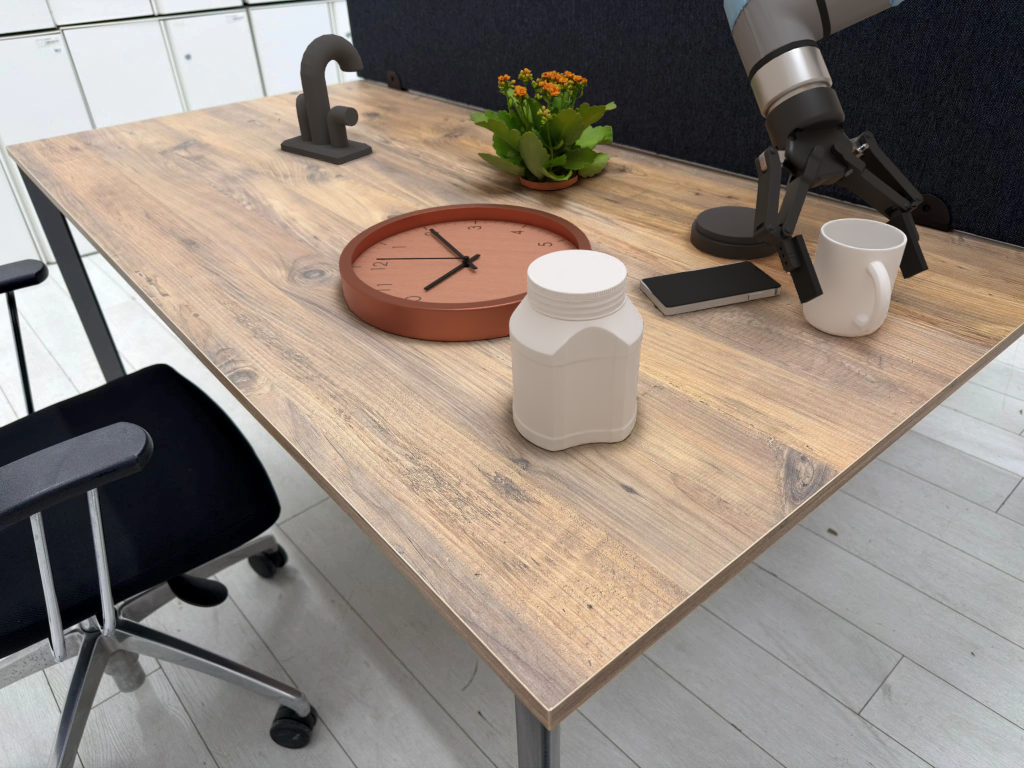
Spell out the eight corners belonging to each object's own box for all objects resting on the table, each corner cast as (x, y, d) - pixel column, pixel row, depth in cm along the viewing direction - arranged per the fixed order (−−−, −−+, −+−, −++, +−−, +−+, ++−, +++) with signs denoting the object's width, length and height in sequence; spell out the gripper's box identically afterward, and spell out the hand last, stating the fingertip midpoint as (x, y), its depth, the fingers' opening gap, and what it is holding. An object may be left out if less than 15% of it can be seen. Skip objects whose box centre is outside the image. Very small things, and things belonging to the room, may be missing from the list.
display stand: (772, 225, 103) (776, 205, 101) (788, 261, 93) (793, 239, 91) (687, 224, 104) (689, 204, 103) (694, 259, 95) (696, 238, 93)
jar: (617, 379, 72) (625, 239, 64) (649, 437, 65) (664, 288, 56) (504, 394, 71) (498, 253, 62) (524, 456, 63) (519, 305, 55)
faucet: (402, 143, 142) (388, 32, 131) (341, 165, 132) (320, 46, 121) (341, 130, 152) (324, 25, 140) (280, 149, 142) (256, 38, 130)
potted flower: (624, 208, 110) (630, 87, 100) (469, 212, 111) (461, 92, 101) (609, 157, 131) (614, 53, 121) (479, 161, 132) (473, 57, 122)
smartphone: (638, 278, 88) (748, 259, 91) (637, 287, 89) (747, 268, 92) (667, 308, 82) (784, 286, 85) (666, 317, 83) (782, 296, 85)
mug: (909, 356, 74) (940, 265, 68) (828, 358, 74) (851, 267, 68) (863, 301, 84) (886, 216, 78) (791, 303, 84) (809, 219, 78)
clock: (599, 307, 76) (308, 311, 78) (598, 340, 79) (315, 343, 80) (585, 201, 102) (366, 205, 104) (584, 227, 104) (371, 231, 106)
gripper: (865, 109, 85) (929, 276, 82) (682, 138, 78) (745, 321, 75) (913, 70, 78) (986, 251, 75) (716, 97, 71) (787, 297, 68)
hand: (865, 286), depth 75 cm, fingers open, 13 cm apart
